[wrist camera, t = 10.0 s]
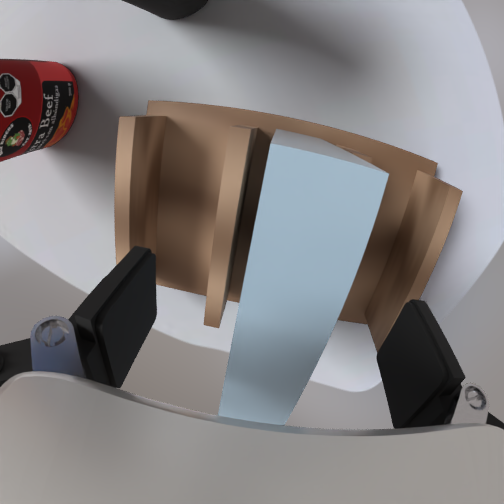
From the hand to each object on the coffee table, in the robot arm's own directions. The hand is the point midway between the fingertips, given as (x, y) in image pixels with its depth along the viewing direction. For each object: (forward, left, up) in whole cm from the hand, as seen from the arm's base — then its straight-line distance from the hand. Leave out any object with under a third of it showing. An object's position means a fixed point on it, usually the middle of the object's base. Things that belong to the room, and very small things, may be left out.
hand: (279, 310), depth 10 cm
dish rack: (+1, 0, -12) cm, 12 cm away
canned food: (-6, -21, -12) cm, 25 cm away
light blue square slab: (0, 0, -10) cm, 10 cm away
